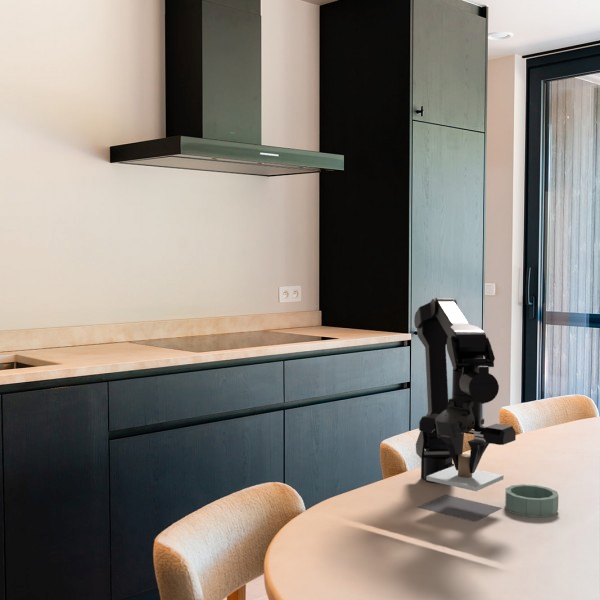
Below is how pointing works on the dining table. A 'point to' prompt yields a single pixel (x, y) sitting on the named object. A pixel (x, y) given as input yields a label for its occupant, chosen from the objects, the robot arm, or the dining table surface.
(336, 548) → the dining table surface
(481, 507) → the mat
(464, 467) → the lid
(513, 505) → the bowl
